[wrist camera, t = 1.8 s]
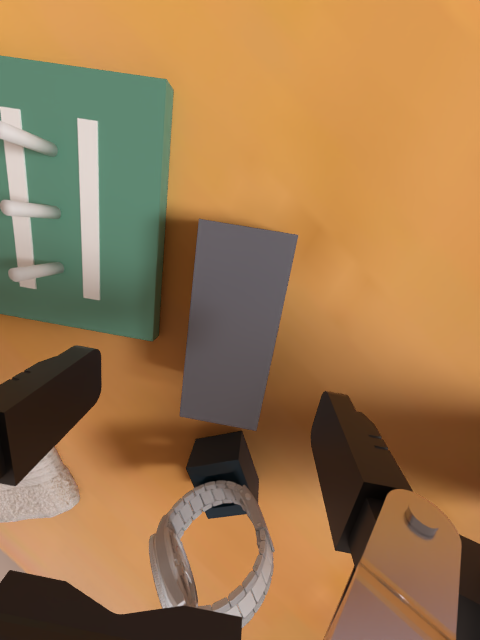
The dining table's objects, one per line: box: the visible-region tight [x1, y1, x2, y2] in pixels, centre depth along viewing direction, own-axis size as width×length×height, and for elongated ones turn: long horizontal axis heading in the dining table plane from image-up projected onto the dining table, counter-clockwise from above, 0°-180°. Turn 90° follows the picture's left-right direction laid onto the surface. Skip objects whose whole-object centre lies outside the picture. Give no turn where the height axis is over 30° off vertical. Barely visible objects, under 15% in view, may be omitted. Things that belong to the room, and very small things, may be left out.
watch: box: [149, 431, 275, 627], centre depth 19 cm, size 6×8×11 cm
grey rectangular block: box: [180, 219, 298, 431], centre depth 18 cm, size 12×5×5 cm, turn 171°
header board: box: [0, 56, 174, 341], centre depth 17 cm, size 14×16×5 cm
